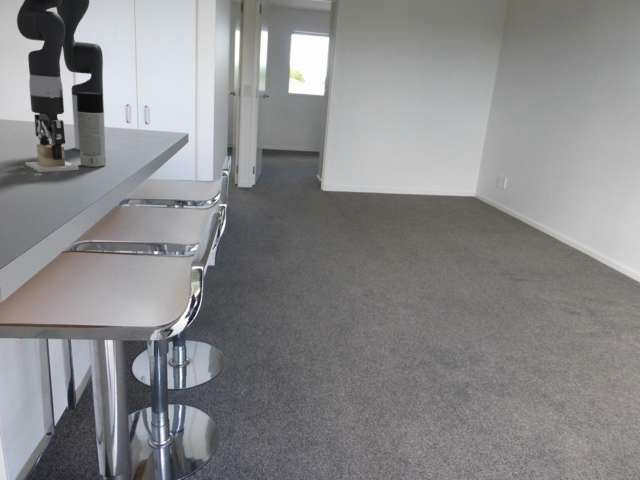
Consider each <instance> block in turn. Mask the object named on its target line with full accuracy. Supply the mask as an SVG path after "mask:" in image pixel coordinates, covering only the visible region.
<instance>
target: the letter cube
mask: <svg viewBox="0 0 640 480" xmlns="http://www.w3.org/2000/svg"><path fill="white" fill-rule="evenodd" d="M51 145H52V144H51V143H50V144H40V143H39V144H38V143H37V144H36V148H37V149H36V151H37V162H38V163H39V164H41V165H43V166H62V165H65V161H66V159H65V158H66V157H65V146H63V145H61V148H62V159H61V160H54V159H53V158H52V146H51Z"/></svg>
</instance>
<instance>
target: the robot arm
mask: <svg viewBox="0 0 640 480" xmlns="http://www.w3.org/2000/svg"><path fill="white" fill-rule="evenodd" d="M89 6H90V0H24V1H23V3H22V4H21V5H20V8H19V11H18V13H17V17H16V25H17V28H18V31H19V33H20V34H21V36H23V37H24V38H25V39H27V40H31V41H41V42H43V45H42V47H41V48H40V49H37V50H31V51H29V52H28V58H27V59H28V60H27V61H28V69H29V70H28V71H29V72H28V73H29V80H28V81H29V85H28V87H29V94H30V95H29V96H30V107H31V110H30V111H31V112H32V113H35V114H34V129H35V131H34V132H35V137H37V139H38V140H39V144H52V145H51V146H52V158H53V159H54V160H61V159H62V148H61V146H63V145H64V144H66V136H65V126H64V125H65V123H64V122H65V121H64V120H63V119H59V118H58V117H59V116H58V115H63V114H64V113H65V107H64V93H63V92H64V90H63V83H62V78H61V77H62V76H61V64H60V63H61V56H62V52H63V59H64V64H65V67H66V69H67V70H68V71H69V72H71V73H76V74H88V75H90V78H89V79H87V80H86V81H84V82H81V83H78V84H74V85H72V86H71V102H72V103H71V104H72V117H73V118H72V120H73V132H74V133H73V134H74V135H73V136H74V137H73V138H74V149H75V150H78V151H80V145H79V128H78V112H77V92H93V93H101V94H102V95H103V96H104V88H103V87H104V84H103V82H104V81H103V79H104V78H103V71H104V70H103V67H104V66H103V65H104V62H103V61H104V59H103V50H102V47H101V46H100V45H99V44H97V43H91V42H81V41H80V42H79V41H76V40H75V33H76V30H77V28H78V26H79V24H80V23H81V21H82V20H83V18H84V16H85V15H86V13H87V11H88V9H89ZM54 8H55V9H56V12H55V11H51V10H50V9H54ZM103 111H104V112H105V107H104V102H103ZM105 127H106V126H105V124H104V133H105V132H106V131H105ZM105 134H106V133H105Z"/></svg>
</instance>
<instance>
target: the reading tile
mask: <svg viewBox="0 0 640 480" xmlns="http://www.w3.org/2000/svg"><path fill="white" fill-rule="evenodd" d="M26 165H27V166H26ZM25 166H26V167H28V166H29V168H30V167H31V168H30V169H32V168H33V169H32V170H33V171H35V170H36V172H37V171H38V172H37V173H49V172H51V173H52V172H65V171H66V172H67V171H79V170H80V168H79V165H76V164H73V163H71V162H69V161H66V160H65V165H62V166H43V165H41V164H39V163H38V161H25Z"/></svg>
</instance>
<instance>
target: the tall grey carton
mask: <svg viewBox="0 0 640 480" xmlns="http://www.w3.org/2000/svg"><path fill="white" fill-rule="evenodd" d="M103 103H104V94H103V95H102V94H101V93H93V92H77V112H78V128H79V145H80V150H79V156H80V157H79V160H80V166H82V167H89V168H100V167H105V166H106V163H107V161H106V159H107V157H106V133H104V125H105V110H104V111H103Z"/></svg>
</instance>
